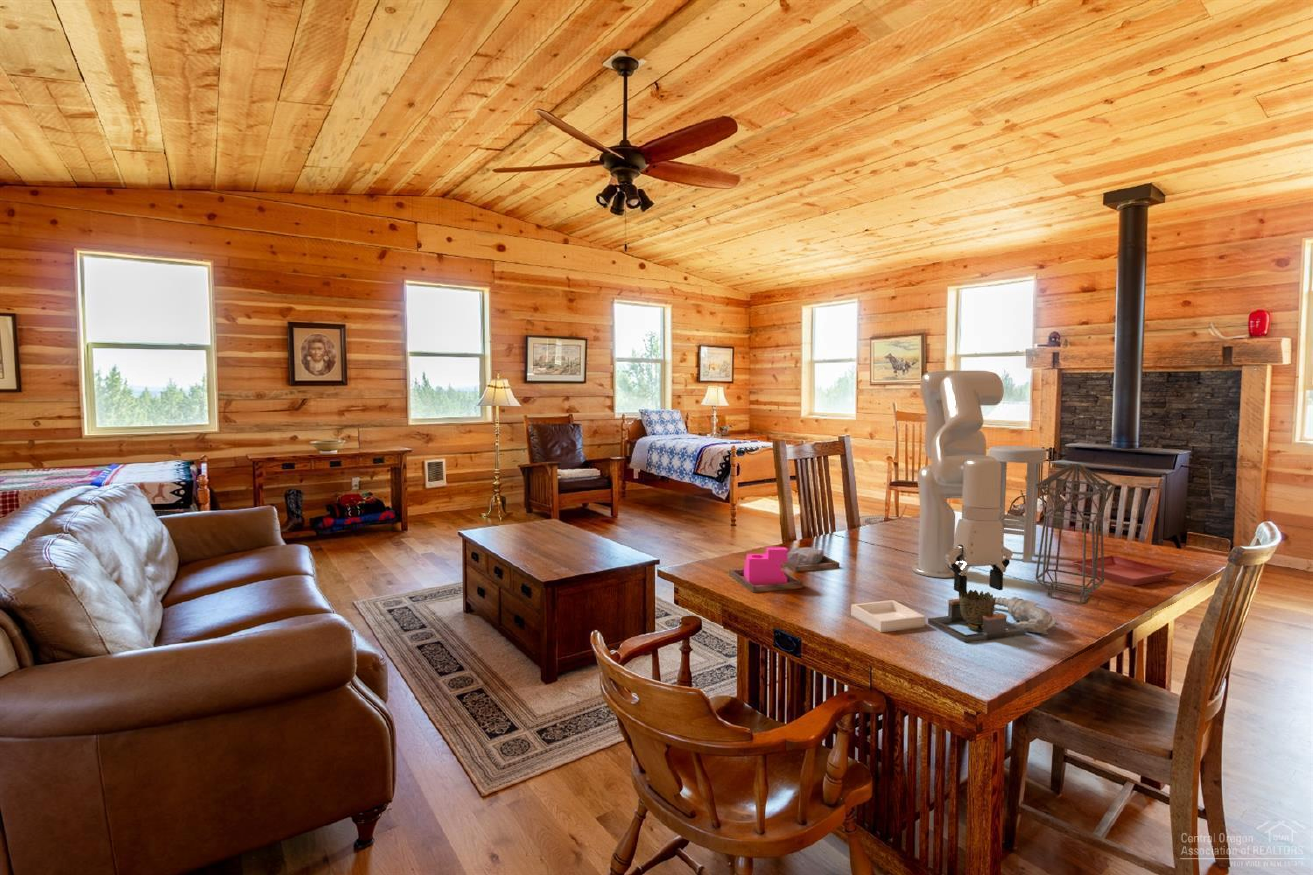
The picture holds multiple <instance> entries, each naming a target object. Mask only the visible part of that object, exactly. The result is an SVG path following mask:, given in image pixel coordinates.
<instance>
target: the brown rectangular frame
mask: <svg viewBox="0 0 1313 875" xmlns="http://www.w3.org/2000/svg"><path fill="white" fill-rule="evenodd" d="M790 551H791V550H790ZM790 551H789V550H788V553H789V552H790ZM821 562H824V563H818V564H813V565H801V566H796V565H794V564H792V563H791V562H789V561H787V562H781V565H783V566H784V567H787V568H788V569H790V570H792V571H794V572H808V571H821V570H830V569H840V562H839V561H836V560H834V559H832V558H830V557H828V556H826V555H824V556H823V560H822V561H821Z"/></svg>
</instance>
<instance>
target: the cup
mask: <svg viewBox="0 0 1313 875" xmlns="http://www.w3.org/2000/svg"><path fill="white" fill-rule="evenodd" d="M993 598H994V599H993ZM996 598H997V597H996V596H994V594H991V593H990V592H989V591H988V592H985V593H984V591H983V590H981V591H980V592H978V590H976V589H974V591H973V589H970V590H969V591H967V592H966V594H963V593H960V592H958V599H959V602H960V611H961V615H962V617H963V618H964V619H965V620H966V621H965V622H966V628H968V629H970V630H971V631H974V632H983V615H991V614H994V612H993V611H994V607H996V605H995V600H996Z"/></svg>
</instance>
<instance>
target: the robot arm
mask: <svg viewBox="0 0 1313 875" xmlns="http://www.w3.org/2000/svg"><path fill="white" fill-rule="evenodd" d="M919 387H920V395H921V398H922V401H923V405H924V407H925V412H926V413H925V414H926V415H925V416H926V420H925V436H924V440H925V441H924V451H925V455H926V457H927V458H928V459H930V462H931V464H930V465H925V466H923V467H921V468H920V469H919V470H918V473H917V486H918V487H917V488H918V493H919V494H918V495H919V525H918V526H919V530H918V531H919V532H918V554H917V556H918V559H917V560H918V562H916V563H914V564H913V565H912V568H911V569H912V571H913V572H914V573H917V574H919V575H922V576H927V577H931V578H941V579H942V578H944V579H945V578H946V579H947V578H953V590H954V591H955V592H958V593H959V592H960V593H963V594H966V592H967V593H968V589H967V588H968V587H967V586H968V577H967V575H966V574H967V571H968V570H969V569H970V568H971V567H986V566H988V567H989V566H990V568H991V569H990V571H989V584H988V585H989V587H990V588H991V589H994V590H997V591H1003V588H1004V587H1003V586H1004V585H1003V583H1004V582H1003V581H1004V573H1006V571H1007V567H1008V566H1009V564H1010V560H1011V559H1012V556H1013V554H1014V552H1013V551H1012V550H1011V549H1009V548H1007V547H1006V546H1005V545H1004V543H1005V541H1004V540H1005V539H1004V540H1003V530H1002V524H1001V521H1000V514H1001V513H1002V510H1001V508H1000V494H1001V464H1000V462H999V461H997V460H996V459H995V458H994V457H991V456H989V455H987V439H986V437H985V434H984V432H982V431H981V429H982V428H983V425H984V415H983V411H982V406H997V405H999V404H1000V403H1001V402H1002V401H1003V397H1004V384H1003V380H1002V379H1001V377H1000V375H998V374H997V373H996V372H992V371H988V370H950V369H949V370H947V369H946V370H934V371H929V372H928V371H927V372H926V373H924V374H923V375H922V377H921V380H920V386H919ZM947 499H962V502H961V519H958V521H957V524H956V513H955V510H954V509H953V507H952V506H951V504H949V503H948V502H947ZM955 528H956V529H955Z"/></svg>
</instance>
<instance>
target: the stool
mask: <svg viewBox="0 0 1313 875" xmlns="http://www.w3.org/2000/svg"><path fill="white" fill-rule="evenodd" d="M988 456H991V457H994V458H995V459H996V460H997V461H999V462H1000V464H1001V494H1000V508H1001V510H1002V513H1001V514H1000V521H1001V524H1002V530H1003V540H1005V539H1004V538H1005V536H1004V535H1005V534H1006V535H1007V534H1008V535H1016V536H1023V546H1022V547H1023V550H1022V563H1028V564H1032V559H1033V557H1035V556H1036V540H1037V521H1038V520H1037V518H1038V498H1039V497H1038V496H1039V489H1038V488H1037V487H1035V486H1034V485H1035V484H1037V483H1039V477H1040V464H1041V463H1046V462H1047V449H1046V448H1043V447H1039V446H1037V447H1036V446H1026V445H1024V446H1023V445H993V446H990V447H989V448H988ZM1008 463H1016V464H1020V463H1021V464H1027V465H1026V480H1025V481H1026V484H1025V501H1024V502H1025V505H1024V506H1025V508H1024V516H1023V515H1015V514H1014V515H1013V514H1005V513H1006V496H1007V495H1006V492H1007V491H1006V490H1007V489H1006V488H1007V470H1008V469H1007V468H1008V467H1007V466H1008V465H1007V464H1008Z"/></svg>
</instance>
